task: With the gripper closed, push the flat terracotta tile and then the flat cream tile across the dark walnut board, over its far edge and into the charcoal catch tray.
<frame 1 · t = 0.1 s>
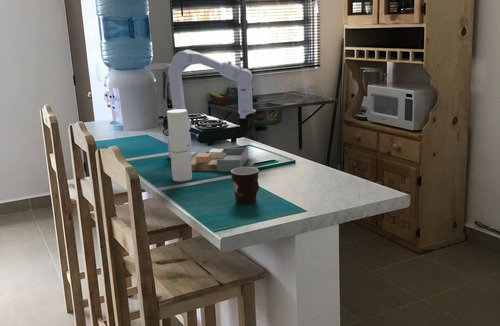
hand: (246, 132, 220), 10 cm above the breakfast bar, tool pointing down, fingers open, 7 cm apart
walnut board: (206, 164, 213), on the breakfast bar
cream tile: (216, 156, 214), point 2 cm above the breakfast bar, touching walnut board
coffee mug: (246, 203, 168), on the breakfast bar
terracotta tile: (203, 161, 208), point 2 cm above the breakfast bar, touching walnut board
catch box: (232, 164, 211), on the breakfast bar
cylindrical container: (182, 179, 196), on the breakfast bar
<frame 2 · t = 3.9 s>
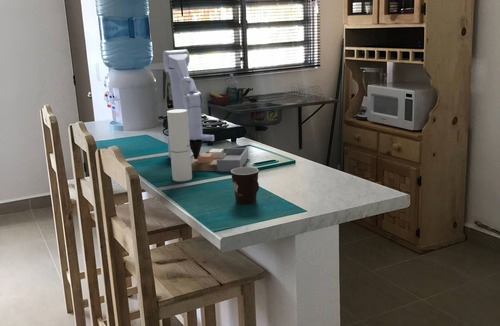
hand: (196, 158, 208), 4 cm above the breakfast bar, tool pointing down, fingers closed
terracotta tile: (205, 161, 208), point 3 cm above the breakfast bar, touching gripper, walnut board
everything else where it was.
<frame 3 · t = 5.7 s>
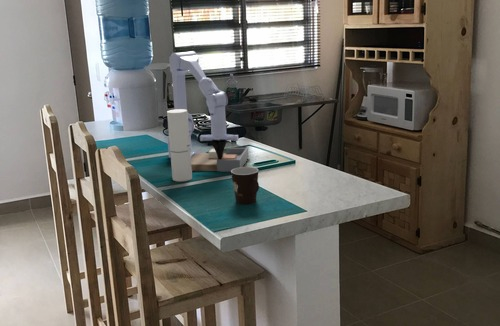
hand: (220, 158, 207), 4 cm above the breakfast bar, tool pointing down, fingers closed
terracotta tile: (229, 162, 207), point 2 cm above the breakfast bar, touching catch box, gripper
everything else where it was.
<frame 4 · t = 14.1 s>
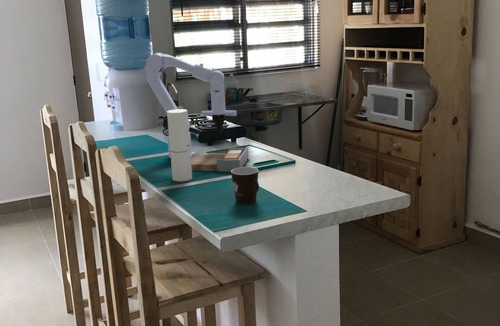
hand: (220, 132, 224), 9 cm above the breakfast bar, tool pointing down, fingers closed
cream tile: (234, 157, 213), point 2 cm above the breakfast bar, touching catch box
terracotta tile: (231, 162, 207), point 2 cm above the breakfast bar, touching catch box
everything else where it was.
at the end: terracotta tile inside the target area (3.8 cm from its centre), point 2.0 cm above the breakfast bar; cream tile inside the target area (3.2 cm from its centre), point 2.0 cm above the breakfast bar; terracotta tile tilted 0° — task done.
